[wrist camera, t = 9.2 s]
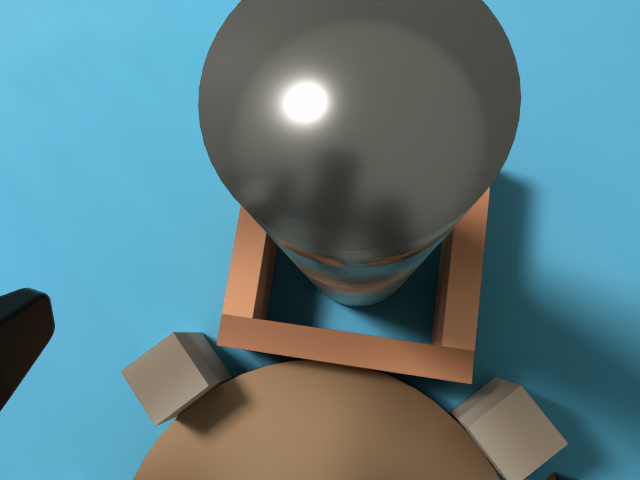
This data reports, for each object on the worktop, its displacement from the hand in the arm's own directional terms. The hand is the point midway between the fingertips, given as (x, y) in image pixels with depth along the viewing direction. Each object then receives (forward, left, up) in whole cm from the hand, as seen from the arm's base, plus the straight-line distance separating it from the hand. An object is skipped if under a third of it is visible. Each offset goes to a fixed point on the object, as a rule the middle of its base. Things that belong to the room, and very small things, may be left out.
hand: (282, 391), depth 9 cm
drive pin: (+3, +3, -10) cm, 11 cm away
